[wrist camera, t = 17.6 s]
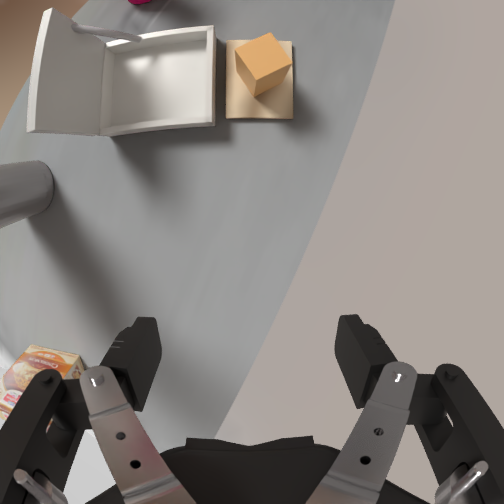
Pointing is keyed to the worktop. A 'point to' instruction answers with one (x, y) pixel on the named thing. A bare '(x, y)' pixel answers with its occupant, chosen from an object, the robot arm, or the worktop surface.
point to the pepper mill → (138, 1)
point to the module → (262, 64)
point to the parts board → (265, 104)
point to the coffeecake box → (28, 365)
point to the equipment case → (120, 79)
